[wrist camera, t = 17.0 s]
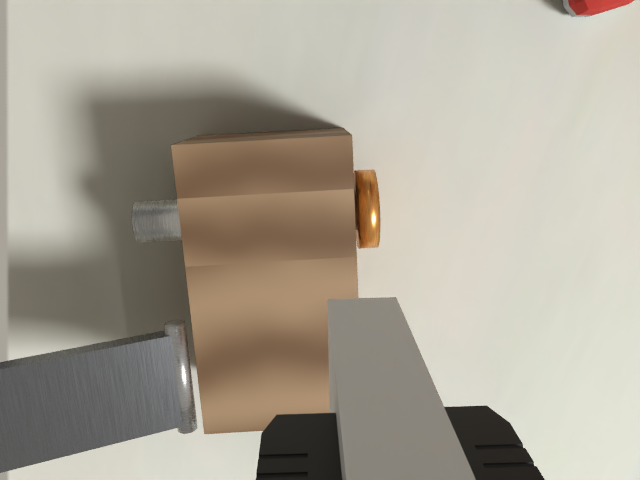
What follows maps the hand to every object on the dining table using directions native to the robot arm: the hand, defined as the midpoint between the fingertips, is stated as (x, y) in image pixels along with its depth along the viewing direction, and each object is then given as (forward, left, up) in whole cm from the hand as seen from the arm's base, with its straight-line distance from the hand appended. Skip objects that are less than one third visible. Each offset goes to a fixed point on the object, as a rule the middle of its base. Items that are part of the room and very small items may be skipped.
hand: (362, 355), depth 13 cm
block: (+5, -4, -28) cm, 29 cm away
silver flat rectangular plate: (+11, -10, -20) cm, 25 cm away
